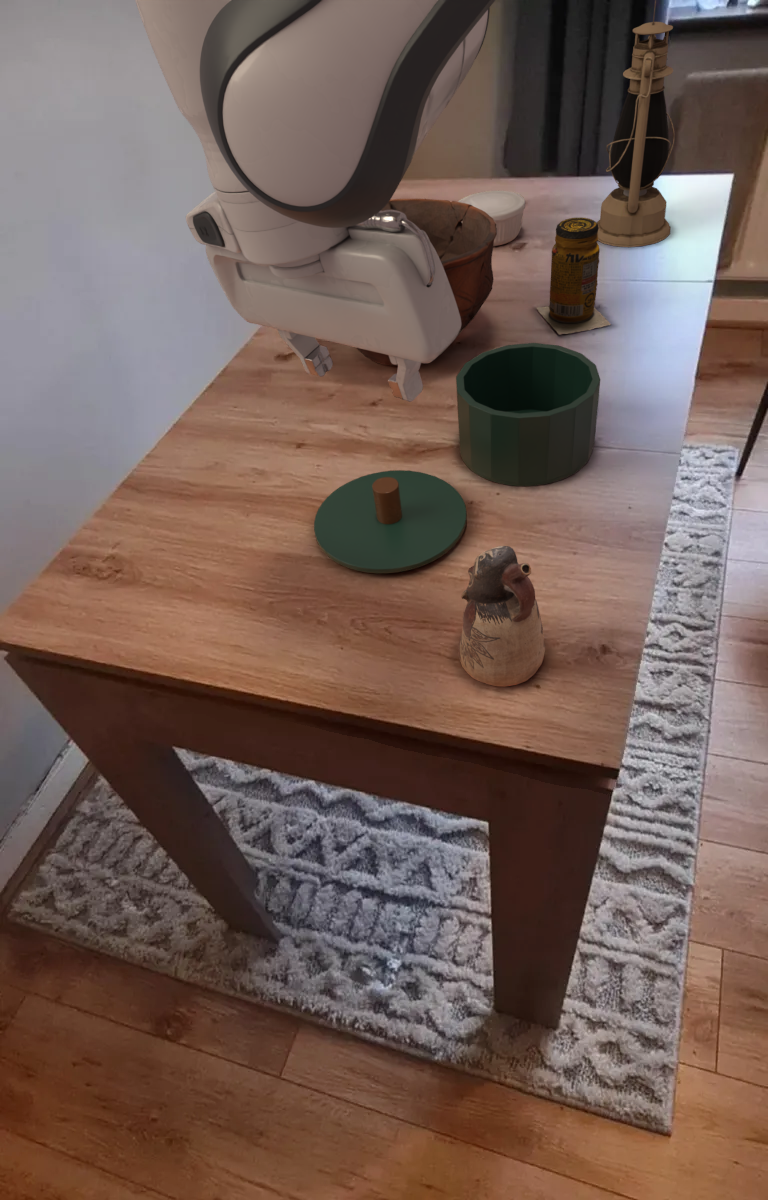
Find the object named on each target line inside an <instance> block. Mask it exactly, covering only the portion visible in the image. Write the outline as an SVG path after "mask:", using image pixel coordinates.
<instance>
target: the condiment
mask: <svg viewBox="0 0 768 1200" xmlns="http://www.w3.org/2000/svg"><path fill="white" fill-rule="evenodd" d="M598 229H599V228H598V224H597V221H596V220H594V219H592V218H588V217H570V218H566V219H564V220H562V221H560V222H559V223H558V224H557V225H556V228H555V237H554V242H555V243H554V244H553V247H552V248H551V260H550V261H551V262H550V263H551V265H550V282H549V283H550V284H549V302H548V303H549V305H545V306H539V307H536V310H537V311H538V312H539V315H541V316H542V317H543V319H545V321H546V322H547V323H548V324H549V325H550V326H551V328H552V330H554V331H555V332H556V333H557V334H558V335H568V334H575V333H580V332H585V331H591V330H593V329H597V328H599V329H600V328H603V327H607V326H611V325H612V324H611V322H610V321H609V320H608V319H607V318H606V317H605V316H604V315H603V314H602V313H601V312H599V311H598V310H597V309H596V307H595V305H596V298H597V290H598V277H599V274H598V273H599V264H600V249H601V248H600V245H599V243H598V242H599V241H598Z"/></svg>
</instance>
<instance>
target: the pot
mask: <svg viewBox="0 0 768 1200" xmlns="http://www.w3.org/2000/svg"><path fill="white" fill-rule="evenodd" d="M455 382H456V385H455V386H456V401H457V402H456V403H457V418H458V419H457V422H458V442H459V443H458V444H459V454H460V458H461V459H462V461H463V463H464V464H465V466H466V467H467V468H468V469H469V470H470V471H471V472H472V473H474V474H475V475H477V476H479V477H481V478H483V479H484V480H487V481H490V482H493V483H496V484H501V485H506V486H512V487H513V486H514V487H535V486H544V485H549V484H552V483H557V482H560V481H562V480H565V479H567V478H569V477H570V476H573V475H574V474H576V473H577V472H578V471H580V470H581V469H583V467H585V465H586V464H587V463H588V461H589V460H590V459H591V457H592V454H593V450H594V446H595V442H596V433H597V432H596V431H597V420H598V411H599V400H600V399H599V398H600V390H601V388H600V387H601V377H600V374H599V370H598V368H597V365H596V364H595V363H594V362H593V361H592V360H591V359H590V358H588V357H587V356H585V355H584V354H583V353H581V352H580V351H576V350H573V349H570V348H567V347H565V346H563V345H558V344H548V343H539V342H525V343H517V344H507V345H503V346H499V347H496V348H492V349H489V350H485V351H483V352H481V353H480V354H478V355H476V356H474V357H473V358H471V359H470V360H468V361H467V362H465V363H464V364H463V367H462V368H461V369H460V371H459V372H458V373H457V375H456V376H455Z"/></svg>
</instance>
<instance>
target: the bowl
mask: <svg viewBox="0 0 768 1200" xmlns="http://www.w3.org/2000/svg"><path fill="white" fill-rule="evenodd" d="M385 210H397V211H400V212H402V213H404V214H405V215H406V217H407V220H409V221H411V222H412V223H414V224H415V225H416V226H417V227H418V228H419V229H420V230H423V231H424V232H426V234H427V236H428V238H429V240H430V242H431V244H432V245H433V247H434V249H435V250H436V252H437V254H438V256H439V259H440V261H441V263H442V266H443V268H444V271H445V273H446V276H447V278H448V281H449V284H450V286H451V289H452V292H453V295H454V298H455V301H456V304H457V307H458V310H459V314H460V317H461V329H460V331H459V333H458V335H457V337H458V336H459V335H460V334H461V333H462V332H463V330H465V328H467V326H468V325H469V324H470V323H471V322H472V321H473V320H474V319H475V317H476V316H477V315H478V313H479V311H480V310H481V308H482V307H483V305H484V304H485V302H486V301H487V299H488V297H489V295H490V294H491V292H492V290H493V284H494V271H493V264H492V263H493V261H492V259H493V251H494V246H493V244H494V239H495V237H496V235H497V228H496V223H495V222H494V220H493V218H492V217H490V216H489V215H488V214H487V213H486V212H484V211H482V210H480V209H478V208H476V207H474V206H472V205H470V204H466V203H461V202H458V201H456V200H452V201H450V200H447V199H433V198H432V199H430V198H391V199H390V200H389V202H388V203H387V204H386V206H385V207H384V208H383V209H382V210H381V211H385ZM449 347H450V345H449V346H448V347H447V348H446V349H445V350H444V351H443V352H442V353H441V354H440V355H442V354H443V353H445V351H446V350H447V349H448V348H449ZM356 349H357V350H358V351H359V352H360V353H361V354H362V355H363V356H364V357H366V358H368V359H370V361H372V362H374V363H377V364H381V365H385V366H395V365H394V364H392V363H391V361H390V358H389V355H386V354H382V353H378V352H373V351H369V350H365V349H360V348H356ZM396 366H398V364H397V365H396Z"/></svg>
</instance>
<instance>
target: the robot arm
mask: <svg viewBox="0 0 768 1200" xmlns="http://www.w3.org/2000/svg"><path fill="white" fill-rule="evenodd" d="M134 2H135V4H136V7H137V10H138V14H139V17H140V19H141V23H142V25H143V28H144V30H145V33H146V35H147V39H148V41H149V43H150V44H149V45H150V46H151V48H152V51H153V53H154V56H155V58H156V60H157V63H158V65H159V69H160V71H161V72H162V75H163V77H164V79H165V81H166V84H167V87H168V89H169V91H170V93H171V95H172V97H173V100H174V102H175V104H176V106H177V109H178V111H179V112H180V114H181V115H182V116H183V117H184V119H185V120H186V121H187V123H188V124H189V125H190V127H191V128H192V129H193V131H194V132H195V134H196V136H197V137H198V140H199V142H200V144H201V147H202V149H203V153H204V157H205V163H206V170H207V175H208V179H209V181H210V183H211V185H212V187H213V190H214V191H213V192H212V193H210V195H208V196H207V197H206V198H204V199H203V200H201V202H199V203H198V204H197V205H196V206H194V207H193V208H192V209H191V210H189V212H188V213H187V214H186V215H185V221H186V224H187V226H188V228H189V231H190V233H191V235H192V236H193V238H194V239H195V240H196V242H197V243H199V244H200V245H204V246H205V254H206V257H207V260H208V262H209V265H210V267H211V269H212V271H213V273H214V275H215V277H216V279H217V281H218V283H219V285H220V288H221V289H222V291H223V293H224V295H225V297H226V299H227V301H228V302H229V304H230V306H231V307H232V308H233V310H234V311H235V312H236V313H237V314H238V316H240V318H242V319H243V320H244V321H246V322H247V323H249V324H254V325H259V326H262V327H267V328H271V329H276V330H277V333H278V334H279V337H280V338H281V339H282V341H283V342H284V343H286V345H287V346H288V347H289V348H290V349H291V351H292V352H293V353H294V354H295V355H296V356H297V357H298V358H299V360H300V362H301V364H302V366H303V369H304V371H305V372H306V374H308V375H312V376H316V377H318V378H319V377H320V378H322V377H324V376H325V375H326V373H327V372H329V371H331V370H332V369H333V365H334V363H333V359H332V357H330V352H329V349H328V347H327V346H324V345H321V344H320V343H319V341H318V340H321V341H322V340H323V341H326V342H329V343H330V342H331V343H336V344H340V345H344V346H347V347H351V348H356V349H357V348H360V349H365V350H369V351H373V352H378V353H382V354H386V355H389V358H390V361H391V363H392V364H394V365H393V366H397V370H396V373H394V374H392V376H390V377H389V378H388V379H387V383H388V384H389V385H388V386H389V388H390V389H391V390H392V392H391V393H392V396H393V398H396V399H399V400H402V401H407V402H413V401H414V400H415V399H417V397H418V396H419V395H420V394H421V393H422V391H423V389H424V383H423V381H422V378H421V373H420V371H419V370H420V368H421V365H422V364H430V363H432V362H434V361H435V360H436V359H437V358H438V357H439V356H440V355H442V354H443V353H444V352H445V351H446V350H447V349H448V348H449V347H450V346H451V344H452V343H453V342H454V341H455V340H456V339H457V337H458V336H459V335H458V333H459V331H460V329H461V317H460V314H459V310H458V307H457V304H456V301H455V298H454V295H453V292H452V289H451V286H450V284H449V281H448V278H447V276H446V273H445V271H444V268H443V266H442V263H441V261H440V259H439V256H438V254H437V252H436V250H435V249H434V247H433V245H432V244H431V242H430V240H429V238H428V236H427V234H426V232H424V231H423V230H420V229H419V228H418V227H417V226H416V225H415V224H414V223H412V222H411V221H409V220H407V217H406V215H405V214H404V213H402V212H400V211H397V210H385V211H381V210H382V209H383V208H384V207H385V206H386V204H387V203H388V202H389V200H390V199H393V196H394V194H395V193H396V191H397V189H398V187H399V186H400V183H401V182H402V181H403V178H404V176H405V174H406V172H407V171H408V169H409V167H410V165H411V163H412V160H413V158H414V156H415V154H416V153H417V151H418V150H419V148H420V146H421V145H422V144H423V142H424V141H425V139H426V138H427V136H428V134H429V133H430V132H431V130H432V128H433V127H434V125H435V124H436V122H437V121H438V119H439V118H440V116H441V115H442V114H443V112H444V110H445V109H446V108H447V106H448V105H449V103H450V102H451V101H452V99H453V98H454V96H455V94H456V93H457V91H458V90H459V88H460V86H461V85H462V83H463V81H464V80H465V79H466V77H467V75H468V74H469V72H470V70H471V69H472V67H473V65H474V63H475V61H476V59H477V57H478V55H479V54H480V52H481V49H482V47H483V45H484V42H485V39H486V35H487V31H488V26H489V20H490V9H491V7H492V5H493V4H494V3H495V2H496V0H134ZM457 335H458V336H457ZM448 346H449V347H448ZM447 347H448V348H447ZM446 348H447V349H446ZM445 349H446V350H445ZM444 350H445V351H444ZM443 351H444V352H443ZM442 352H443V353H442ZM441 353H442V354H441ZM397 364H398V365H397Z"/></svg>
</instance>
